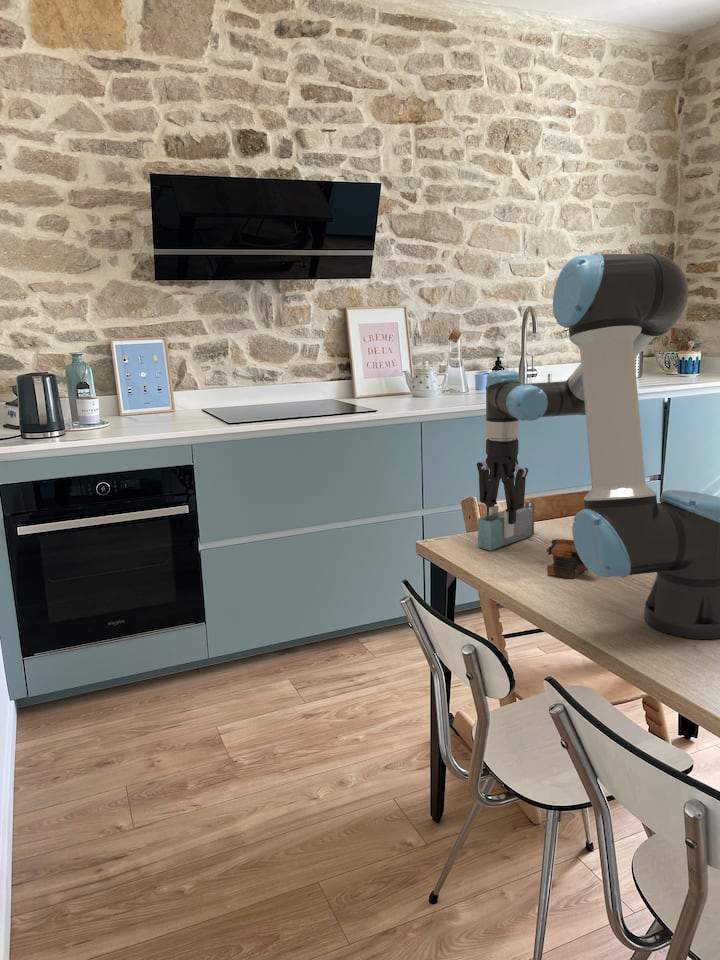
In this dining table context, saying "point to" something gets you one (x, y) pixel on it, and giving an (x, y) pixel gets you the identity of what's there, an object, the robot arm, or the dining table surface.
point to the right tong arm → (496, 529)
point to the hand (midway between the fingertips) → (501, 534)
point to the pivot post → (531, 505)
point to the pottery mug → (565, 559)
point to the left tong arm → (481, 527)
